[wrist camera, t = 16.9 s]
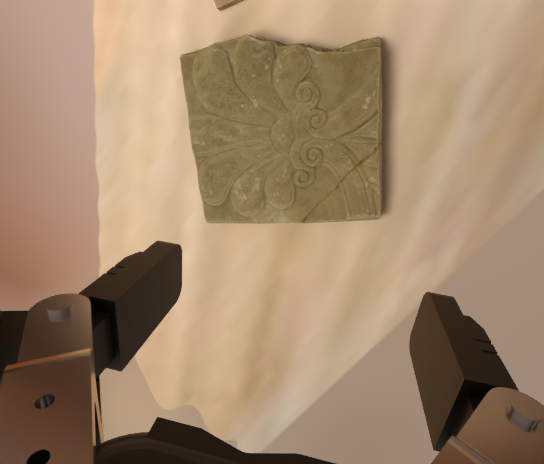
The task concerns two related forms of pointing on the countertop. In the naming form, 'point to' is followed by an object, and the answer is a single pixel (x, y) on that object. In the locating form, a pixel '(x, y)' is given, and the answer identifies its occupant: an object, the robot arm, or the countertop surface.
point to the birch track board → (225, 3)
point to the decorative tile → (286, 130)
